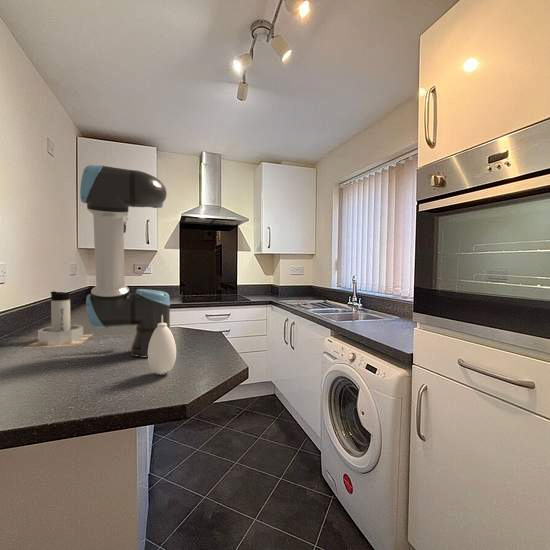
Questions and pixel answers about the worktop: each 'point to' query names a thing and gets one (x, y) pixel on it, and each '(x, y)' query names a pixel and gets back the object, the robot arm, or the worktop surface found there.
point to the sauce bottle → (161, 349)
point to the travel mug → (60, 311)
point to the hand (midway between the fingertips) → (112, 268)
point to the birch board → (58, 345)
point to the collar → (60, 336)
